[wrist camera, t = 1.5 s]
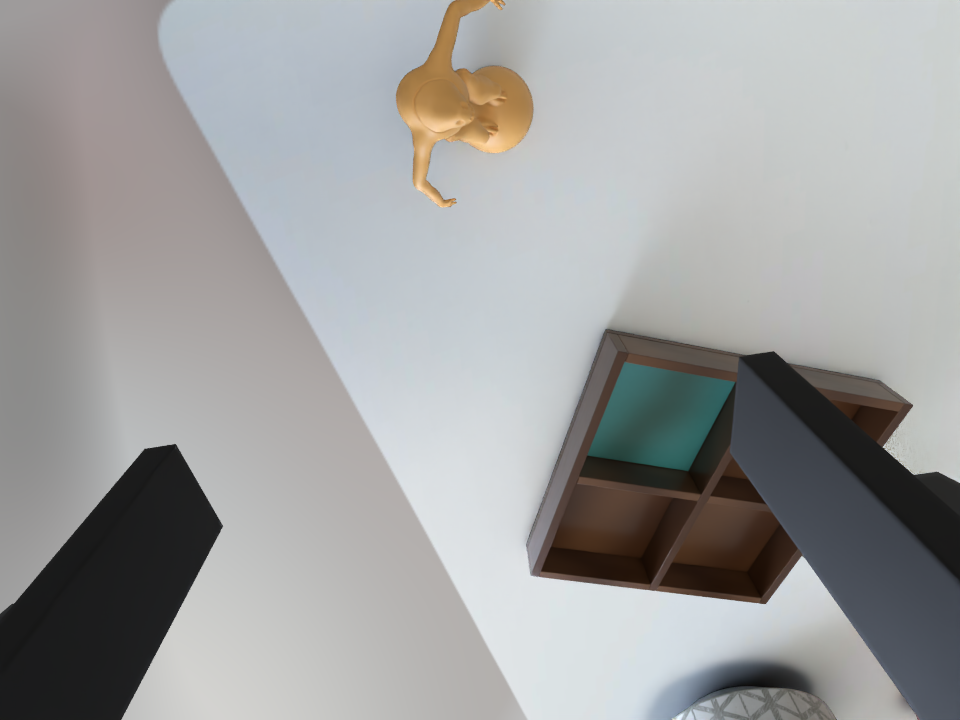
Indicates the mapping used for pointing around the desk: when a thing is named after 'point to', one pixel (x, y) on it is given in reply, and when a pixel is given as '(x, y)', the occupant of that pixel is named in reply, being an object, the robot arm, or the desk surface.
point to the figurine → (461, 102)
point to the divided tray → (674, 475)
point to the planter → (757, 705)
